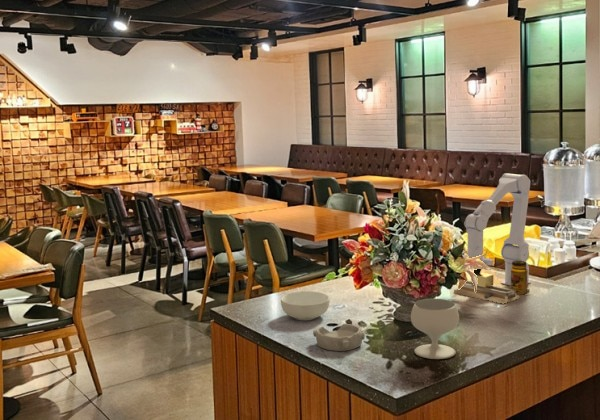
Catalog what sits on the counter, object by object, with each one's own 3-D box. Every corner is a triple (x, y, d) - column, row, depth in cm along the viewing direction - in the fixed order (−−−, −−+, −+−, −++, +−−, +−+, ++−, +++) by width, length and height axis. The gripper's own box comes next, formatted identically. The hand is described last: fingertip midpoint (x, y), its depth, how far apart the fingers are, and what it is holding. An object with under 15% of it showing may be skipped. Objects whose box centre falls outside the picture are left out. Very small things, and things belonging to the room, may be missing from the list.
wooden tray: (471, 287, 279) (471, 278, 279) (520, 298, 263) (520, 288, 262) (452, 293, 272) (452, 284, 271) (502, 304, 255) (502, 295, 255)
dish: (308, 344, 221) (307, 328, 220) (342, 334, 229) (342, 319, 228) (336, 357, 209) (336, 340, 208) (372, 346, 217) (372, 330, 216)
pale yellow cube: (482, 286, 271) (482, 272, 270) (493, 288, 267) (493, 274, 266) (474, 288, 268) (474, 274, 267) (485, 291, 264) (485, 277, 263)
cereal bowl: (274, 322, 243) (273, 302, 242) (291, 308, 258) (290, 289, 257) (321, 326, 237) (320, 306, 236) (335, 312, 253) (335, 292, 251)
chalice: (401, 349, 213) (401, 301, 210) (440, 341, 219) (440, 294, 216) (429, 364, 200) (429, 313, 198) (468, 356, 206) (469, 306, 204)
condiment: (508, 294, 268) (509, 263, 266) (510, 288, 276) (510, 258, 274) (528, 295, 266) (529, 264, 264) (529, 289, 274) (530, 259, 272)
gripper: (453, 244, 271) (453, 279, 273) (485, 250, 260) (484, 286, 262) (464, 242, 276) (464, 276, 278) (496, 247, 265) (495, 282, 267)
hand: (475, 280), depth 270 cm, fingers closed
